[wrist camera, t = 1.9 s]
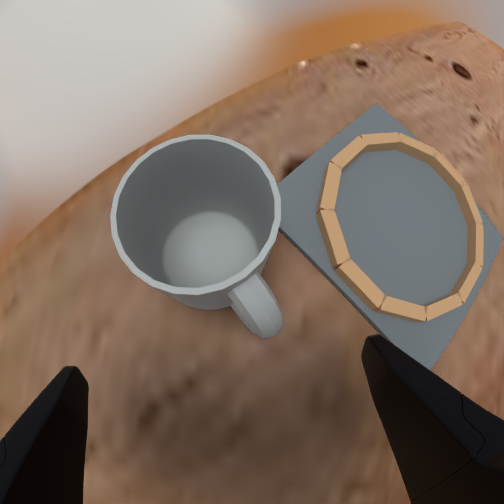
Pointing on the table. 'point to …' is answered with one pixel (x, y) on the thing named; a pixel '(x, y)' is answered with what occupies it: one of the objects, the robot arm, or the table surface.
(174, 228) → the cup
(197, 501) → the table surface
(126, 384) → the table surface
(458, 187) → the collar mat
